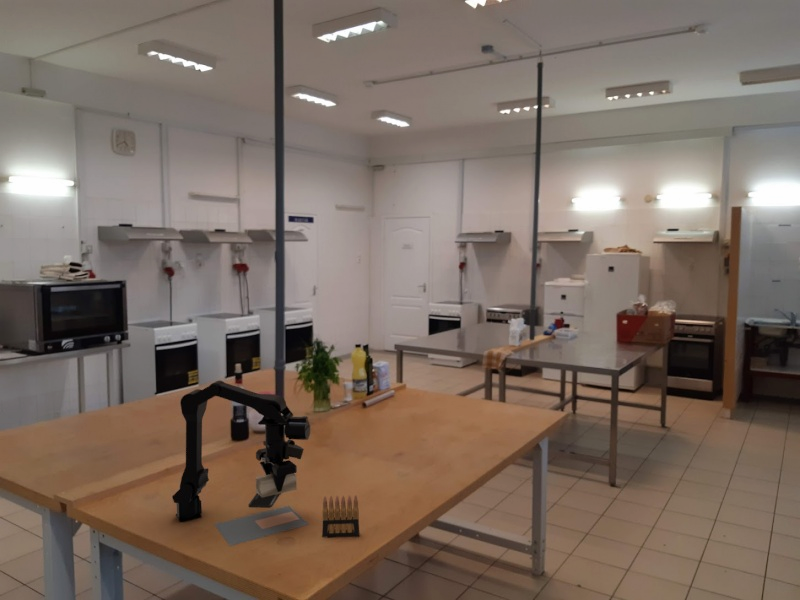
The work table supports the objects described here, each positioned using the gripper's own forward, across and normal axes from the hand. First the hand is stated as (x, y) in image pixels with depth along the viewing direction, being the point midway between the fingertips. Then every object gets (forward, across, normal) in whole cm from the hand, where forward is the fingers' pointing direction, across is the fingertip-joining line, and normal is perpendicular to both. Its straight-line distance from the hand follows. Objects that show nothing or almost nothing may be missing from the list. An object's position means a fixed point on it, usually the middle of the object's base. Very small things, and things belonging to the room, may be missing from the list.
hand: (276, 488), depth 184 cm
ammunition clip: (+10, -19, -12) cm, 25 cm away
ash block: (+1, 0, 0) cm, 1 cm away
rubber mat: (+10, 0, +5) cm, 11 cm away
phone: (+11, +18, -3) cm, 21 cm away
